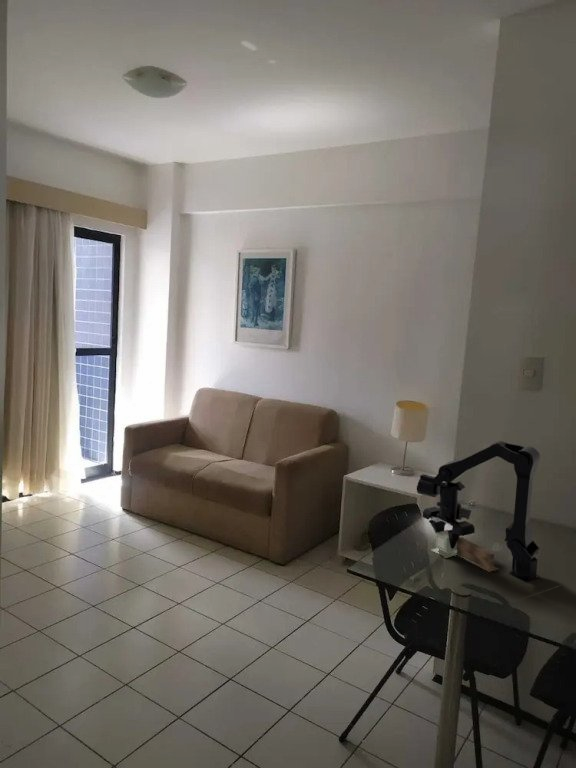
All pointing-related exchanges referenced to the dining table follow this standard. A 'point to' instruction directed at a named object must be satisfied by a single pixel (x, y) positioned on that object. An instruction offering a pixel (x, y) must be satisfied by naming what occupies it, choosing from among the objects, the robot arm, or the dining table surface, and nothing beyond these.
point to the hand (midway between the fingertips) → (446, 545)
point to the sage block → (444, 541)
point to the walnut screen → (476, 554)
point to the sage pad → (447, 552)
